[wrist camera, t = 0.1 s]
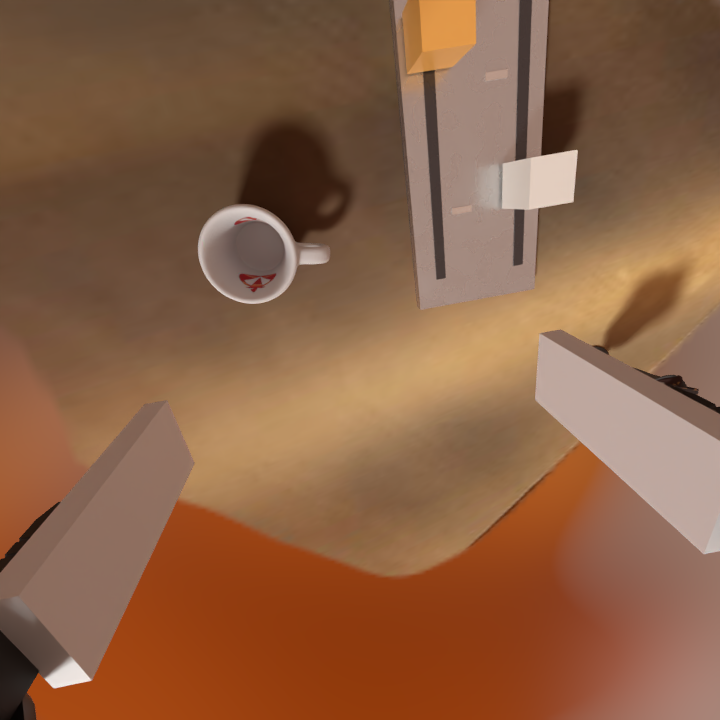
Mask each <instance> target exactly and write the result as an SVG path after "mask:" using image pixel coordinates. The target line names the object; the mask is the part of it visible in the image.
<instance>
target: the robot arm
mask: <svg viewBox="0 0 720 720" xmlns="http://www.w3.org/2000/svg"><path fill="white" fill-rule="evenodd" d="M535 400H536V401H537V402H538V403H539V404H540V405H541V406H543V407H544V408H545V409H546V410H547V411H548V412H549V413H550V414H551V415H552V416H553V417H555V418H556V419H557V420H558V421H559V422H560V423H561V424H562V425H563V426H564V427H565V428H567V429H568V430H569V431H570V432H571V433H572V434H573V435H574V436H575V437H576V438H577V439H579V440H580V441H581V442H582V443H583V444H584V445H585V446H586V447H587V448H588V449H589V450H591V451H592V452H593V453H594V454H595V455H596V456H597V457H598V458H599V459H600V460H602V461H603V462H604V463H605V464H606V465H607V466H608V467H609V468H610V469H611V470H612V471H613V472H615V473H616V474H617V475H618V476H619V477H620V478H621V479H622V480H623V481H625V482H626V483H627V484H628V485H629V486H630V487H631V488H632V489H633V490H634V491H635V492H636V493H638V494H639V495H640V496H641V497H642V498H643V499H644V500H645V501H646V502H647V503H649V505H651V506H652V507H653V508H654V509H655V510H656V511H657V512H658V513H659V514H660V515H661V516H663V517H664V518H665V519H666V520H667V521H668V522H669V523H671V525H672V526H674V527H675V528H676V529H677V530H678V531H679V532H680V533H681V534H682V535H683V536H684V537H686V538H687V539H688V540H689V541H690V542H691V543H692V544H693V545H694V546H695V547H696V548H698V549H699V550H700V551H701V552H702V553H703V554H707V553H712V552H717V551H720V407H716V406H715V404H713V403H711V402H710V401H708V400H706V399H704V398H702V397H700V396H698V395H696V394H693V393H690V392H687V391H684V390H681V389H677V388H674V387H671V386H666V385H664V384H662V383H660V382H659V381H657V380H655V379H653V378H651V377H649V376H647V375H645V374H643V373H642V372H640V371H638V370H636V369H634V368H632V367H630V366H628V365H626V364H625V363H623V362H621V361H619V360H617V359H615V358H613V357H611V356H609V355H608V354H606V353H604V352H602V351H600V350H598V349H596V348H594V347H592V346H591V345H589V344H587V343H585V342H583V341H581V340H579V339H577V338H576V337H574V336H572V335H570V334H568V333H566V332H564V331H562V330H555V331H550V332H544V333H540V336H539V351H538V365H537V380H536V395H535ZM193 465H194V461H193V459H192V456H191V454H190V452H189V449H188V447H187V445H186V442H185V440H184V438H183V436H182V433H181V431H180V429H179V426H178V424H177V422H176V419H175V417H174V415H173V413H172V410H171V408H170V406H169V403H168V401H167V400H166V401H160V402H155V403H149V404H144V406H143V407H142V408H141V409H140V410H139V411H138V413H137V414H136V415H135V416H134V417H133V418H132V420H131V421H130V422H129V423H128V424H127V425H126V427H125V428H124V429H123V430H122V431H121V432H120V434H119V435H118V436H117V437H116V438H115V439H114V441H113V442H112V443H111V444H110V445H109V446H108V448H107V449H106V450H105V451H104V452H103V453H102V455H101V456H100V457H99V458H98V459H97V460H96V462H95V463H94V464H93V465H92V466H91V467H90V469H89V470H88V471H87V472H86V473H85V474H84V476H83V477H82V478H81V479H80V481H79V482H78V483H77V484H76V485H75V486H74V487H73V488H72V490H71V491H70V492H69V493H68V494H67V495H66V497H65V498H64V499H63V500H62V501H61V502H58V503H57V504H55V505H54V506H53V507H52V508H50V509H49V510H48V511H46V512H45V513H44V514H43V515H42V516H40V517H39V518H38V519H36V520H35V521H34V523H33V524H32V525H31V526H30V527H29V529H27V530H26V532H25V533H24V534H23V535H22V536H21V537H20V538H19V539H20V541H19V542H16V543H15V544H14V545H13V546H12V548H11V549H10V550H9V551H8V552H7V553H6V554H5V558H4V559H1V560H0V720H36V713H35V705H34V703H33V701H32V699H31V697H30V696H29V695H28V694H27V691H28V689H29V688H30V686H31V684H32V683H33V680H34V679H35V678H36V676H37V674H38V673H39V674H40V675H41V676H42V677H43V678H44V679H45V680H46V681H47V682H48V683H49V684H50V685H51V686H52V687H53V688H58V687H63V686H67V685H72V684H77V683H82V682H87V681H91V680H92V679H93V677H94V675H95V673H96V671H97V669H98V666H99V664H100V662H101V660H102V658H103V656H104V653H105V652H106V649H107V647H108V645H109V643H110V641H111V639H112V637H113V634H114V632H115V630H116V628H117V626H118V624H119V622H120V620H121V618H122V616H123V613H124V611H125V609H126V607H127V605H128V603H129V601H130V599H131V597H132V595H133V592H134V590H135V588H136V586H137V584H138V582H139V580H140V577H141V575H142V573H143V571H144V569H145V567H146V565H147V563H148V561H149V559H150V556H151V554H152V552H153V550H154V548H155V545H156V544H157V542H158V539H159V537H160V535H161V533H162V531H163V529H164V527H165V525H166V522H167V520H168V518H169V516H170V514H171V512H172V510H173V508H174V506H175V503H176V501H177V499H178V497H179V495H180V493H181V491H182V489H183V487H184V485H185V482H186V480H187V478H188V476H189V474H190V472H191V470H192V468H193Z"/></svg>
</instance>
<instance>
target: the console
mask: <svg viewBox="0 0 720 720" xmlns="http://www.w3.org/2000/svg"><path fill="white" fill-rule="evenodd" d="M407 1H408V0H389V2H390V13H391V24H392V35H393V46H394V57H395V68H396V79H397V90H398V101H399V112H400V123H401V134H402V145H403V156H404V167H405V178H406V189H407V200H408V211H409V222H410V233H411V244H412V255H413V266H414V277H415V288H416V299H417V307H418V308H419V309H420V310H422V309H427V308H433V307H438V306H444V305H449V304H454V303H460V302H465V301H471V300H476V299H482V298H487V297H493V296H498V295H504V294H509V293H515V292H520V291H526V290H531V289H534V284H535V264H536V244H537V224H538V208H536V209H530V210H524V209H502V178H503V163H508V162H513V161H517V160H522V159H527V158H532V157H538V156H541V145H542V125H543V105H544V85H545V65H546V45H547V26H548V6H549V0H476V44H475V45H474V46H473V47H472V48H471V49H470V50H469V51H468V52H467V53H466V54H465V55H464V56H463V57H462V58H461V59H460V60H459V61H458V62H457V63H456V64H455V65H454V66H453V67H449V68H443V69H437V70H431V71H424V72H418V73H412V74H407V68H406V56H405V43H404V31H403V18H402V12H403V10H404V8H405V5H406V3H407Z"/></svg>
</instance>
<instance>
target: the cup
mask: <svg viewBox="0 0 720 720" xmlns="http://www.w3.org/2000/svg"><path fill="white" fill-rule="evenodd" d="M198 255H199V261H200V264H201V267H202V269H203V272H204V274H205V275H206V277H207V279H208V280H209V281H210V283H211V284H212V285H213V286H214V287H215V288H216V289H217V290H218V291H219V292H221V293H222V294H224V295H225V296H227V297H229V298H231V299H233V300H236V301H239V302H243V303H251V304H255V303H263V302H267V301H270V300H272V299H274V298H276V297H278V296H279V295H281V294H282V293H283V292H284V291H285V290H286V289H287V288H288V287H289V285H290V284H291V282H292V280H293V278H294V276H295V273H296V269H297V267H298V266H299V265H300V264H321V263H326V262H327V261H329V259H330V248H329V247H328V246H327V245H325V244H318V243H298V242H296V241H295V240H294V239H293V236H292V234H291V232H290V230H289V229H288V227H287V226H286V225H285V224H284V223H283V222H282V221H281V220H280V219H279V218H278V217H277V216H276V215H274V214H273V213H271V212H270V211H268V210H266V209H264V208H261V207H259V206H255V205H250V204H236V205H231V206H227V207H225V208H222V209H221V210H219V211H217V212H216V213H215V214H213V215H212V216H211V217H210V218H209V219H208V221H207V222H206V223H205V225H204V227H203V229H202V231H201V233H200V237H199V241H198Z"/></svg>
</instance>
